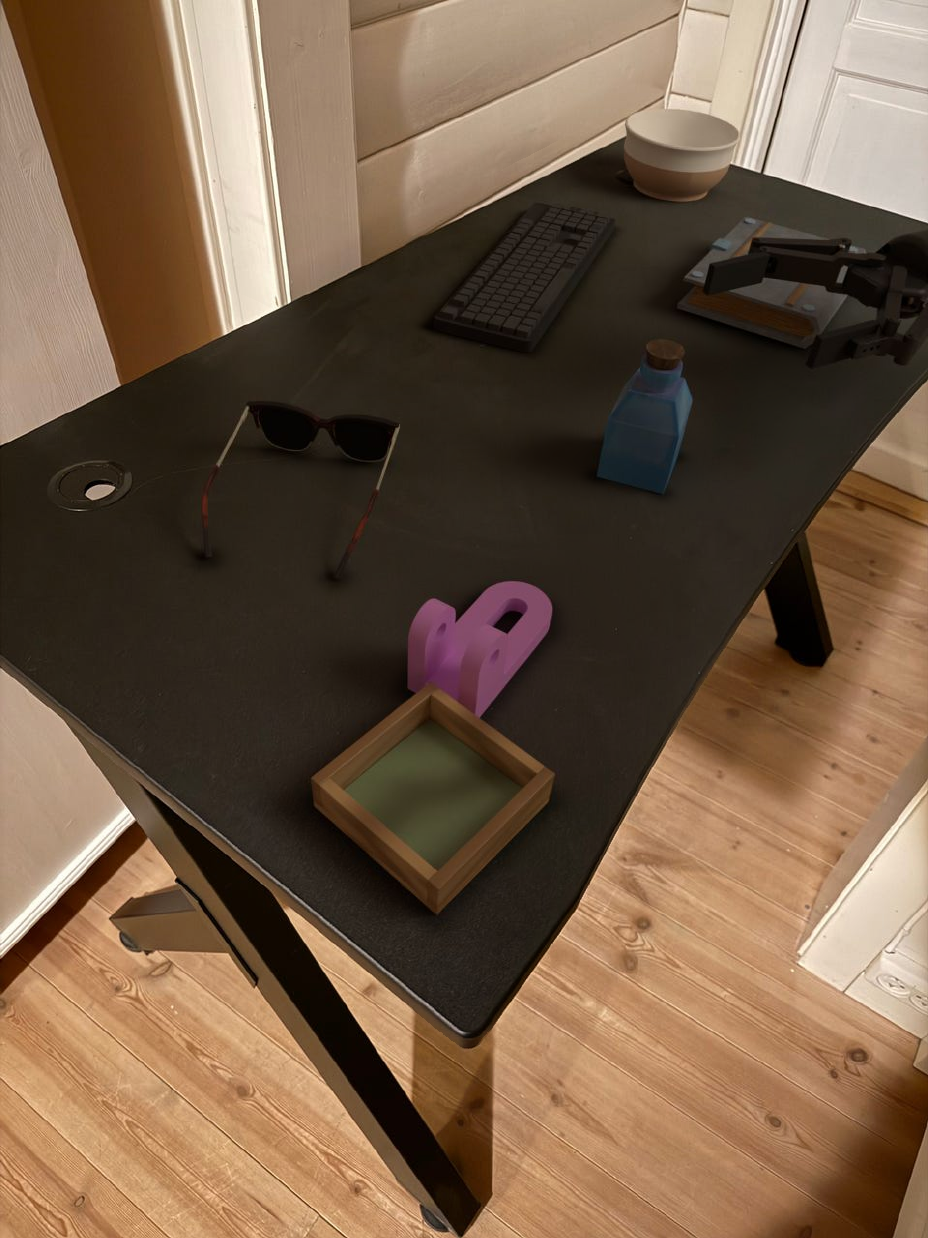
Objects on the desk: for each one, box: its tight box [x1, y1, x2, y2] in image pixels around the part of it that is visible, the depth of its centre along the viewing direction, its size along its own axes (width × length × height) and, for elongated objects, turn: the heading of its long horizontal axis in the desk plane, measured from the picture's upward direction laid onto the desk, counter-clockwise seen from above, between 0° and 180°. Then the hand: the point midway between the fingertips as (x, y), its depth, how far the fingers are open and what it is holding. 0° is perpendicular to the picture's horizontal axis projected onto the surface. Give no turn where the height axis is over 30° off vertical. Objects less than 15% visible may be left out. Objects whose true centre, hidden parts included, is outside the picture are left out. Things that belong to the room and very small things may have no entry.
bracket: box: [407, 580, 553, 719], centre depth 65 cm, size 13×6×7 cm, turn 148°
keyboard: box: [434, 202, 616, 354], centre depth 109 cm, size 35×11×2 cm, turn 159°
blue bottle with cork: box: [596, 339, 694, 495], centre depth 79 cm, size 6×6×12 cm
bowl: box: [623, 108, 741, 203], centre depth 128 cm, size 16×16×8 cm
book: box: [676, 216, 867, 350], centre depth 107 cm, size 21×16×5 cm
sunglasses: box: [201, 400, 401, 580], centre depth 76 cm, size 14×16×5 cm
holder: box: [310, 682, 556, 915], centre depth 56 cm, size 11×11×3 cm
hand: (757, 314), depth 78 cm, fingers open, 13 cm apart
